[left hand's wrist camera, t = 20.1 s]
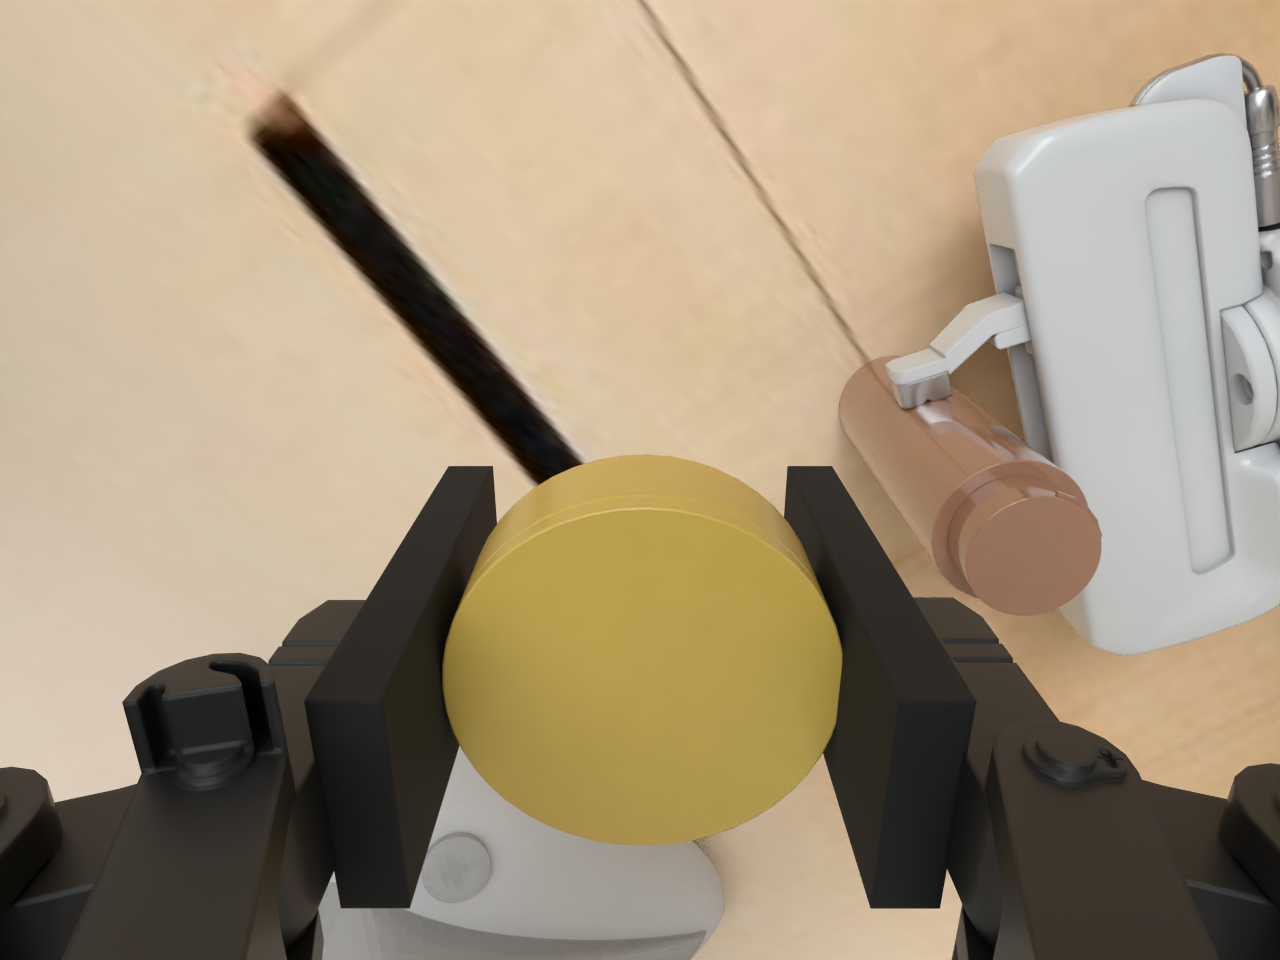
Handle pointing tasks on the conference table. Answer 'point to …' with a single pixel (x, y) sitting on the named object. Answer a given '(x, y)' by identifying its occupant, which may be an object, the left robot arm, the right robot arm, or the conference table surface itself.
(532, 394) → the conference table surface
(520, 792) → the lid
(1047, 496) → the jar
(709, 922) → the projector
